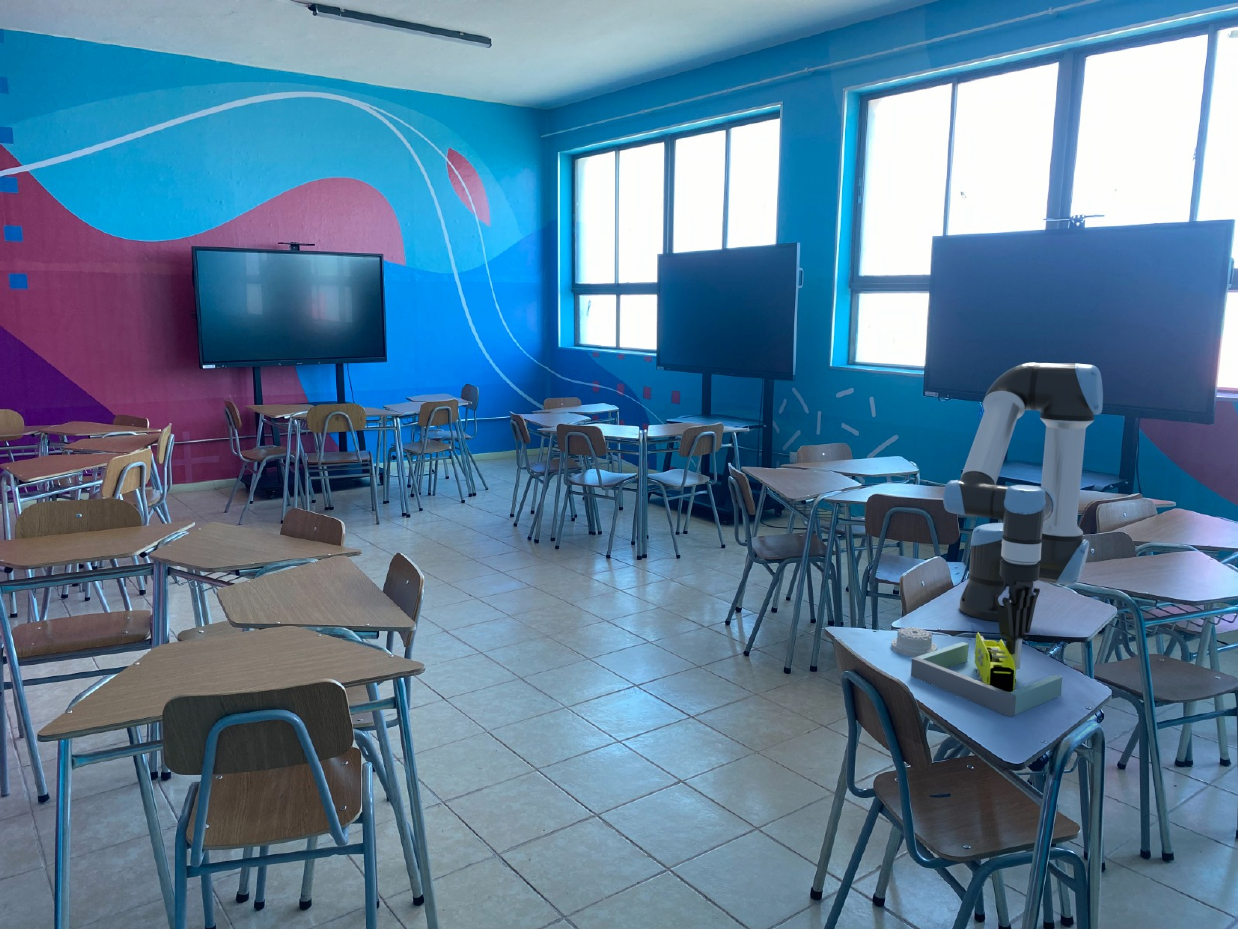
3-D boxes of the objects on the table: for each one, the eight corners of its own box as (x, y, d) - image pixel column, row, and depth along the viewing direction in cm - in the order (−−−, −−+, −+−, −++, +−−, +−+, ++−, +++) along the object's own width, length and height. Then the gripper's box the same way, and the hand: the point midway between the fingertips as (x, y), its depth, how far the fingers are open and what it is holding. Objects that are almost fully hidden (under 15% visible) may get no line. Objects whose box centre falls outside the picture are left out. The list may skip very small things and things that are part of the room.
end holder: (961, 658, 194) (962, 641, 194) (1060, 695, 176) (1062, 677, 175) (910, 676, 185) (911, 658, 184) (1010, 717, 166) (1011, 697, 165)
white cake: (941, 659, 195) (930, 643, 205) (943, 640, 194) (931, 625, 204) (896, 657, 196) (887, 641, 206) (897, 639, 195) (888, 623, 205)
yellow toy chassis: (972, 665, 191) (973, 629, 189) (999, 667, 189) (1001, 630, 188) (985, 696, 175) (987, 656, 174) (1015, 698, 174) (1017, 658, 173)
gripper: (1021, 551, 188) (1013, 655, 191) (985, 560, 180) (978, 668, 184) (1054, 559, 181) (1046, 666, 185) (1019, 569, 174) (1010, 679, 178)
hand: (1012, 667), depth 185 cm, fingers closed
